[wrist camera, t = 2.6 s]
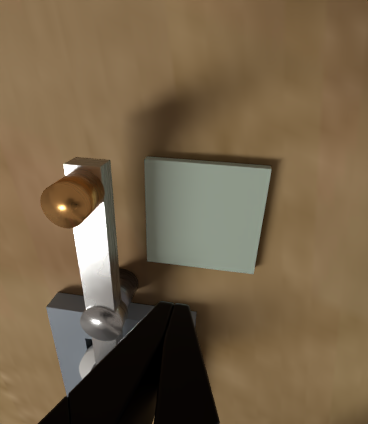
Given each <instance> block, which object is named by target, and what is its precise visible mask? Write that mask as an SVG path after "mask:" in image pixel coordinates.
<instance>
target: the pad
mask: <svg viewBox="0 0 368 424" xmlns="http://www.w3.org/2000/svg"><path fill="white" fill-rule="evenodd" d="M144 165H145V201H146V238H147V261H150V262H158V263H166V264H174V265H183V266H191V267H199V268H207V269H215V270H224V271H232V272H240V273H248V274H254V268H255V262H256V257H257V251H258V245H259V239H260V234H261V228H262V222H263V216H264V210H265V205H266V199H267V193H268V187H269V182H270V176H271V170H272V169H271V166H267V165H254V164H241V163H228V162H215V161H201V160H188V159H175V158H162V157H149V156H147V157H146V158H145V159H144Z"/></svg>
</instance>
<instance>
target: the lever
mask: <svg viewBox="0 0 368 424" xmlns="http://www.w3.org/2000/svg"><path fill="white" fill-rule="evenodd" d="M64 171H65V177H63V178H62V179H60V180H59V181H57V182H55V183H54V184H52V185H51V186H49V187H48V188H46V189H45V190H44V191H43V193H42V195H41V207H42V210H43V212H44V214H45V215H46V217H47V218H48V219H49V220H50V221H51V222H53V223H54V224H56V225H58V226H60V227H63V228H73V229H74V236H75V242H76V249H77V255H78V262H79V268H80V275H81V281H82V288H83V294H84V300H85V307H86V309H85V310H84V312H83V314H82V315H81V317H80V324H81V327H82V329H83V330H84V331H85V332H86V333H87V334H88V335H89V336H91V337H92V343H93V350H94V356H95V363H96V365H97V364H98V363H99V362H100V361H101V360H102V359H103V358H104V357H105V356H106V355H107V354H108V353H109V352H110V351H111V350H112V349H113V348H114V347H115V346H116V345H117V344H118V343H119V342H120V341H121V340H122V339H123V330H122V328H123V326H124V324H125V321H126V319H127V317H128V307H129V305H130V302H131V300H132V298H133V296H134V293H135V291H136V289H137V287H138V280H137V278H136V276H135V275H134V274H133V273H132V272H130V271H128V270H125V269H119V262H118V250H117V238H116V225H115V213H114V200H113V188H112V176H111V163H110V160H106V159H93V158H81V157H75V158H73V159H72V160H70V161H68V162H66V163H64Z"/></svg>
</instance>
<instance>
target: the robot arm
mask: <svg viewBox="0 0 368 424" xmlns="http://www.w3.org/2000/svg"><path fill="white" fill-rule="evenodd" d="M154 415H155V417H154ZM153 419H154V424H219V423H220V421H219V417H218V413H217V410H216V406H215V402H214V398H213V394H212V391H211V387H210V383H209V379H208V375H207V372H206V368H205V364H204V360H203V356H202V353H201V349H200V345H199V341H198V337H197V333H196V330H195V326H194V322H193V318H192V314H191V311H190V307H189V305H186V304H179V303H176V304H175V305H174V304H173V303H172V302H165V301H160V302H159V303H158V304H157V305H156V306H155V307H154V308H153V309H152V310H151V311H150V312H149V313H148V314H147V315H146V316H145V317H144V318H143V319H142V320H141V321H140V322H139V323H138V324H137V325H136V326H135V327H134V328H133V329H132V330H131V331H130V332H129V333H128V334H127V335H126V336H125V337H124V338H123V339H122V340H121V341H120V342H119V343H118V344H117V345H116V346H115V347H114V348H113V349H112V350H111V351H110V352H109V353H108V354H107V355H106V356H105V357H104V358H103V359H102V360H101V361H100V362H99V363H98V364H97V365H96V366H95V367H94V368H93V369H92V370H91V371H90V372H89V373H88V374H87V375H86V376H85V377H84V378H83V379H82V380H81V381H80V382H79V383H78V384H77V385H76V386H75V387H74V388H73V389H72V390H71V391H70V392H69V394H68V396H65V397H64V398H63V399H62V400H61V401H60V402H59V403H58V404H57V405H56V406H55V407H54V408H53V409H52V410H51V411H50V412H49V413H48V414H47V415H46V416H45V417H44V418H43V419H42V420H41V421H40V422H39V423H38V424H152V422H153Z"/></svg>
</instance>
